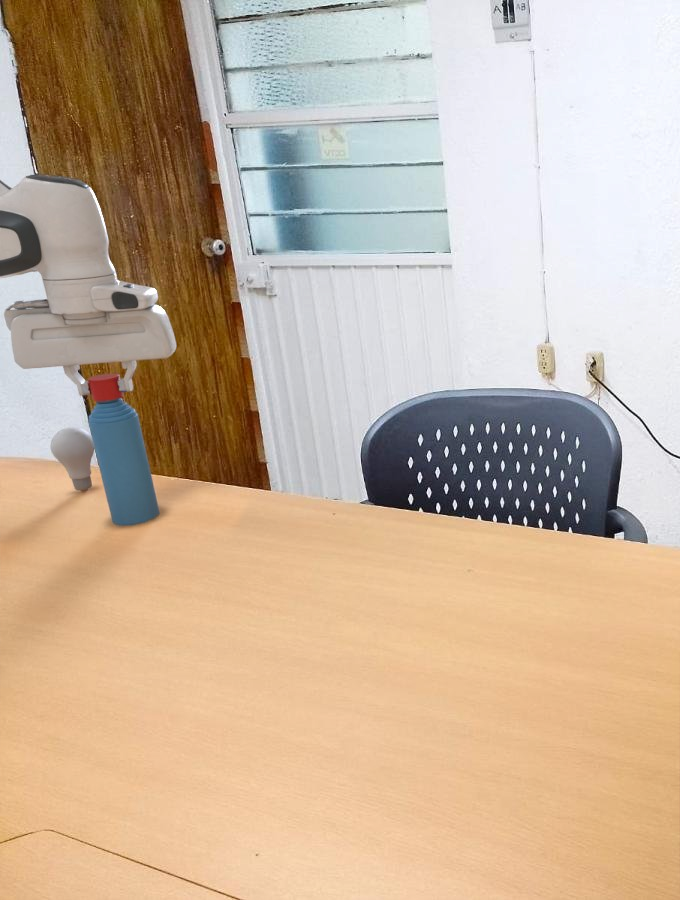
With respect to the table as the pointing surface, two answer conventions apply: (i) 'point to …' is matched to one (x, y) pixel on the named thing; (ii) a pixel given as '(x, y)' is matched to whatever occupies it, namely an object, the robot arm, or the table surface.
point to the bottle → (123, 462)
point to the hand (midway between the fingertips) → (107, 392)
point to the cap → (105, 387)
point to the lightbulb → (75, 455)
